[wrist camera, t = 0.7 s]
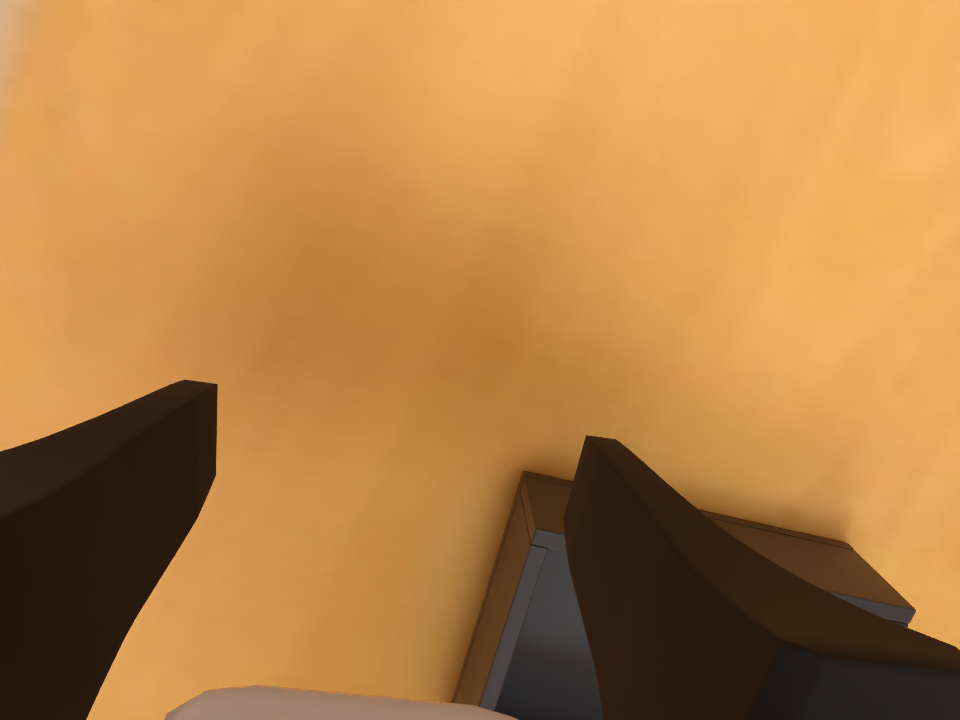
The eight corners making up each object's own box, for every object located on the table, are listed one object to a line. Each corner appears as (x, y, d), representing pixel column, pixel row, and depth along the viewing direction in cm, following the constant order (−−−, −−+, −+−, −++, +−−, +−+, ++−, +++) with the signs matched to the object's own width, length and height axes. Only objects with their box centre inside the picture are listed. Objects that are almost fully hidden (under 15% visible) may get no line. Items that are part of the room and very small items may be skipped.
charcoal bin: (743, 761, 28) (788, 854, 25) (449, 708, 27) (448, 798, 23) (848, 542, 25) (917, 610, 22) (523, 470, 24) (535, 528, 20)
